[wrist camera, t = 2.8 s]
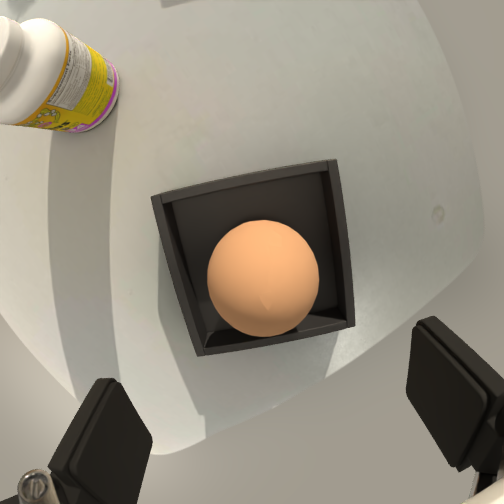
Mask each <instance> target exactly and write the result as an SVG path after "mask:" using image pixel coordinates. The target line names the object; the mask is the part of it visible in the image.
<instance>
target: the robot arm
mask: <svg viewBox="0 0 504 504" xmlns="http://www.w3.org/2000/svg"><path fill="white" fill-rule="evenodd" d="M406 394H407V397H408V399H409V400H410V402H411V404H412V405H413V406H414V408H415V410H416V411H417V413H418V414H419V416H420V418H421V419H422V421H423V422H424V424H425V426H426V427H427V429H428V430H429V432H430V434H431V435H432V437H433V439H434V440H435V442H436V443H437V445H438V447H439V448H440V450H441V452H442V453H443V455H444V457H445V458H446V460H447V462H448V464H450V466H451V467H456V468H457V470H458V472H461V471H463V470H464V469H466V468H468V467H470V466H471V465H472V466H473V468H474V469H475V471H476V472H475V477H474V480H473V485H472V488H471V491H470V495H469V499H468V500H466V501H464V502H462V503H461V504H504V379H503V378H502V377H501V376H500V375H499V374H498V373H497V372H496V371H495V370H494V369H493V368H492V367H491V366H490V365H489V364H487V362H485V361H484V360H483V359H482V358H481V357H480V356H479V355H478V354H477V353H476V352H475V351H474V350H473V349H471V348H470V347H469V346H468V345H467V344H466V343H465V342H464V341H463V340H462V339H461V338H459V337H458V336H457V335H456V334H455V333H454V332H453V331H452V330H450V329H449V328H448V327H447V326H446V325H445V324H444V323H443V322H441V321H440V320H439V319H438V318H437V317H435V316H430V317H428V318H425V319H422V320H419V321H418V322H417V324H416V326H415V327H414V328H413V329H412V339H411V351H410V361H409V369H408V378H407V384H406ZM152 443H153V440H152V436H151V434H150V432H149V431H148V429H147V428H146V426H145V424H144V423H143V421H142V419H141V418H140V416H139V414H138V413H137V411H136V409H135V408H134V406H133V404H132V402H131V401H130V399H129V397H128V395H127V393H126V392H125V390H124V388H123V386H122V385H121V383H119V382H117V381H116V380H115V379H114V378H99V379H97V380H96V381H95V383H94V385H93V386H92V388H91V389H90V391H89V393H88V395H87V396H86V398H85V400H84V401H83V403H82V405H81V406H80V408H79V410H78V412H77V413H76V415H75V417H74V419H73V420H72V422H71V424H70V426H69V427H68V429H67V431H66V433H65V435H64V436H63V438H62V440H61V442H60V444H59V446H58V447H57V449H56V452H55V453H54V455H53V457H52V459H51V461H50V463H49V464H48V468H49V469H50V470H51V471H52V472H51V474H48V473H47V472H46V471H44V470H41V469H35V470H31V471H29V472H27V473H26V474H25V475H23V476H22V478H21V479H20V481H19V483H18V495H15V496H13V497H11V498H8V499H5V500H3V501H1V502H0V504H137V500H138V497H139V493H140V489H141V485H142V481H143V477H144V473H145V470H146V466H147V462H148V459H149V455H150V451H151V448H152Z"/></svg>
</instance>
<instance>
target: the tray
mask: <svg viewBox="0 0 504 504" xmlns="http://www.w3.org/2000/svg"><path fill="white" fill-rule="evenodd" d="M151 201H152V205H153V210H154V214H155V218H156V222H157V226H158V230H159V234H160V237H161V241H162V245H163V249H164V252H165V256H166V260H167V263H168V267H169V270H170V274H171V277H172V281H173V284H174V287H175V291H176V294H177V297H178V300H179V304H180V307H181V310H182V313H183V316H184V319H185V322H186V325H187V328H188V331H189V334H190V337H191V340H192V343H193V346H194V349H195V352H196V355H197V356H205V355H213V354H220V353H227V352H233V351H239V350H245V349H251V348H257V347H263V346H268V345H273V344H279V343H284V342H289V341H294V340H298V339H303V338H308V337H312V336H317V335H321V334H326V333H330V332H334V331H338V330H342V329H346V328H350V327H354V326H355V308H354V293H353V280H352V269H351V258H350V249H349V240H348V231H347V223H346V216H345V209H344V202H343V195H342V188H341V182H340V176H339V170H338V164H337V160H336V159H330V160H322V161H316V162H309V163H303V164H297V165H291V166H285V167H280V168H274V169H269V170H263V171H258V172H253V173H248V174H243V175H238V176H233V177H229V178H224V179H219V180H215V181H210V182H206V183H201V184H197V185H193V186H189V187H185V188H181V189H176V190H172V191H169V192H165V193H161V194H157V195H154V196H151ZM260 220H268V221H274V222H279V223H281V224H284V225H286V226H289V227H290V228H291V229H293V230H294V231H296V232H297V233H299V235H300V236H301V237H302V238H303V239H304V240H305V241H306V242H307V244H308V245H309V247H310V249H311V250H312V252H313V254H314V256H315V259H316V262H317V265H318V273H319V286H318V293H317V296H316V298H315V301H314V303H313V306H312V308H311V309H310V311H309V312H308V314H307V315H306V317H305V318H304V319H303V320H302V321H301V322H300V323H299V324H298V325H297V326H295V327H294V328H293V329H291V330H289V331H287V332H284V333H282V334H279V335H275V336H270V337H259V336H252V335H248V334H245V333H243V332H241V331H239V330H237V329H235V328H234V327H233V326H231V325H230V324H229V323H228V322H227V321H225V320H224V319H223V318H222V317H221V316H220V314H219V313H218V311H217V310H216V308H215V306H214V304H213V302H212V300H211V298H210V295H209V290H208V285H207V270H208V266H209V261H210V258H211V256H212V253H213V251H214V249H215V247H216V246H217V244H218V243H219V241H220V240H221V239H222V238H223V237H224V236H225V235H226V234H227V233H228V232H229V231H230V230H232V229H234V228H236V227H238V226H239V225H241V224H243V223H246V222H250V221H260Z"/></svg>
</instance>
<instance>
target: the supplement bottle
mask: <svg viewBox="0 0 504 504" xmlns="http://www.w3.org/2000/svg"><path fill="white" fill-rule="evenodd" d="M118 92H119V77H118V73H117V71H116V69H115V67H114V66H113V64H112V63H111V62H110V61H108V60H107V59H106V58H104V57H103V56H102V55H100V54H99V53H97V52H96V51H95V50H93V49H92V48H90V47H89V46H87V45H86V44H84V43H83V42H82V41H80V40H79V39H77V38H76V37H74V36H73V35H71V34H70V33H68V32H67V31H65V30H64V29H62V28H61V27H60V26H58V25H57V24H55V23H53V22H52V21H49V20H46V19H32V20H28V21H25V22H23V23H21V24H19V23H18V22H16V21H14V20H11V19H9V18H6V17H4V16H0V124H5V125H15V126H24V127H33V128H41V129H49V130H56V131H63V132H72V133H78V132H84V131H87V130H89V129H92V128H93V127H95V126H97V125H98V124H99V123H101V122H102V121H103V120H104V119H105V118H106V117H107V115H108V114H109V113H110V111H111V110H112V108H113V106H114V104H115V102H116V99H117V96H118Z"/></svg>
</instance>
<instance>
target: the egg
mask: <svg viewBox="0 0 504 504" xmlns="http://www.w3.org/2000/svg"><path fill="white" fill-rule="evenodd" d="M207 285H208V290H209V295H210V298H211V300H212V302H213V304H214V306H215V308H216V310H217V311H218V313H219V314H220V316H221V317H222V318H223V319H224V320H225V321H227V322H228V323H229V324H230V325H231V326H233V327H234V328H235V329H237V330H239V331H241V332H243V333H245V334H248V335H252V336H259V337H270V336H275V335H279V334H282V333H284V332H287V331H289V330H291V329H293V328H294V327H295V326H297V325H298V324H299V323H300V322H301V321H302V320H303V319H304V318H305V317H306V315H307V314H308V312H309V311H310V309H311V308H312V306H313V303H314V301H315V298H316V296H317V293H318V286H319V273H318V265H317V262H316V259H315V256H314V254H313V252H312V250H311V249H310V247H309V245H308V244H307V242H306V241H305V240H304V239H303V238H302V237H301V236H300V235H299V233H297V232H296V231H294V230H293V229H291V228H290V227H289V226H286V225H284V224H281V223H279V222H274V221H268V220H260V221H250V222H246V223H243V224H241V225H239V226H238V227H236V228H234V229H232V230H230V231H229V232H228V233H227V234H226V235H225V236H224V237H223V238H222V239H221V240H220V241H219V243H218V244H217V246H216V247H215V249H214V251H213V253H212V256H211V258H210V261H209V266H208V270H207Z"/></svg>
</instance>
